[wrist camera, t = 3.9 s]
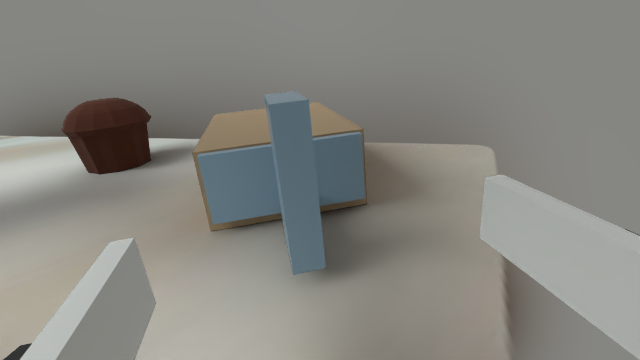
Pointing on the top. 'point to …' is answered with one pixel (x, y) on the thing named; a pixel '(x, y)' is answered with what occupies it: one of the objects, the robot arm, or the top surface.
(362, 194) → the blue-handled drawer
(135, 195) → the top surface
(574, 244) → the robot arm
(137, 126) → the muffin
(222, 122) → the drawer cabinet
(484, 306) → the top surface
